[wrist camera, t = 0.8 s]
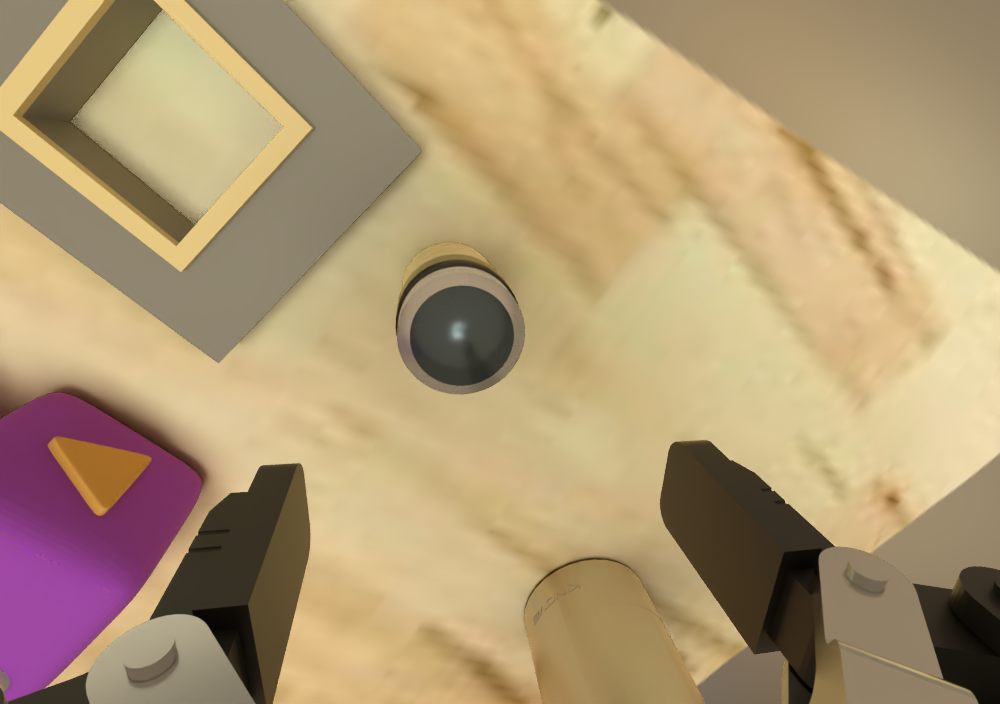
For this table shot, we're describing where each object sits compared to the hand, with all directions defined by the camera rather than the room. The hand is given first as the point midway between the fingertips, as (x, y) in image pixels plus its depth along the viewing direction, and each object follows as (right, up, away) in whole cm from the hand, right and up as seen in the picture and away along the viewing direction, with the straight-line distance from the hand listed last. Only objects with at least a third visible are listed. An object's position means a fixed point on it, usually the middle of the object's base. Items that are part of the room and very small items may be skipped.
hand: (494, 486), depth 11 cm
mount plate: (-14, +13, +13) cm, 23 cm away
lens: (-3, +6, +17) cm, 19 cm away
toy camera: (-24, -3, +18) cm, 30 cm away
